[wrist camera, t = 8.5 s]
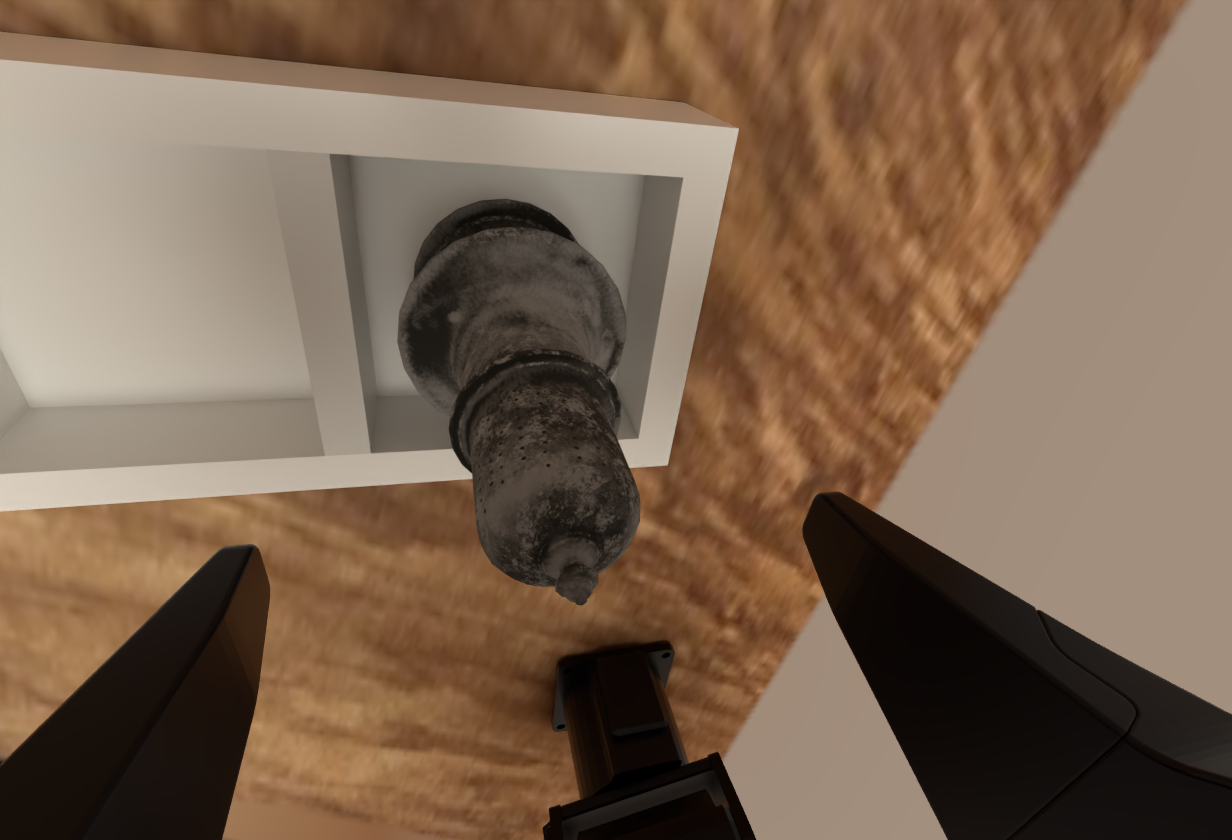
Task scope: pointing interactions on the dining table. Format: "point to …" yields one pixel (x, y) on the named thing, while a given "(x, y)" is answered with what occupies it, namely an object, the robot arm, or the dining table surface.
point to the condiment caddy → (298, 261)
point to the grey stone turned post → (526, 388)
